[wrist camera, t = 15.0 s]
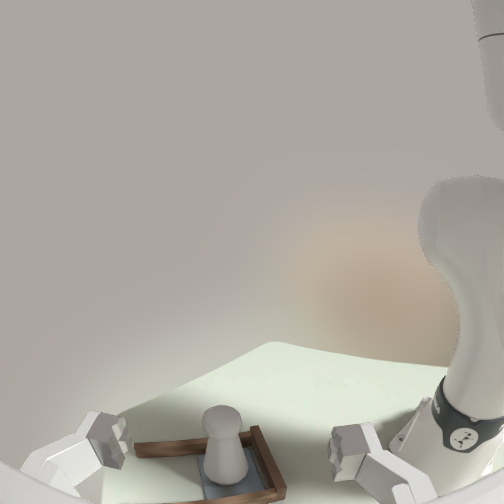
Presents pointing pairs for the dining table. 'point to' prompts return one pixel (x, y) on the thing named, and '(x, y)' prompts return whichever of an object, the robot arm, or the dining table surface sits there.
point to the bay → (237, 496)
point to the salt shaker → (224, 446)
